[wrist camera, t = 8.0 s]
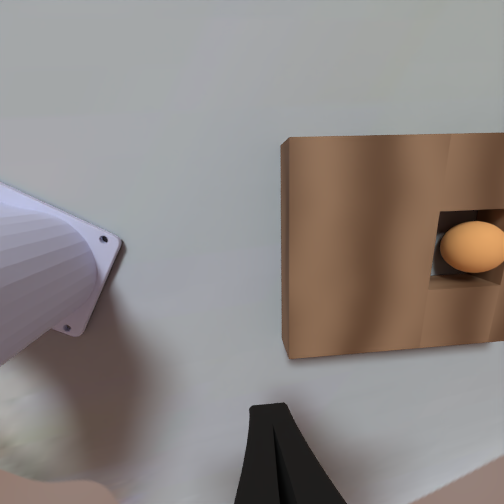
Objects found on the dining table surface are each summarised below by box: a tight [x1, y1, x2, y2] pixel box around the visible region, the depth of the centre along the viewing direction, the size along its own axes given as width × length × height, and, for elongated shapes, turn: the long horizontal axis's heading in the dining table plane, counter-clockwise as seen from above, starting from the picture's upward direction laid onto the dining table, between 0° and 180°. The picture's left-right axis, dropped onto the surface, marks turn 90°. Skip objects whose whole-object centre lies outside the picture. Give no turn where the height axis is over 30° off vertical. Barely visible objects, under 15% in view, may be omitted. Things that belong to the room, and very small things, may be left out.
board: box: [281, 133, 504, 359], centre depth 17 cm, size 17×14×2 cm
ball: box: [440, 221, 504, 273], centre depth 17 cm, size 4×4×4 cm
